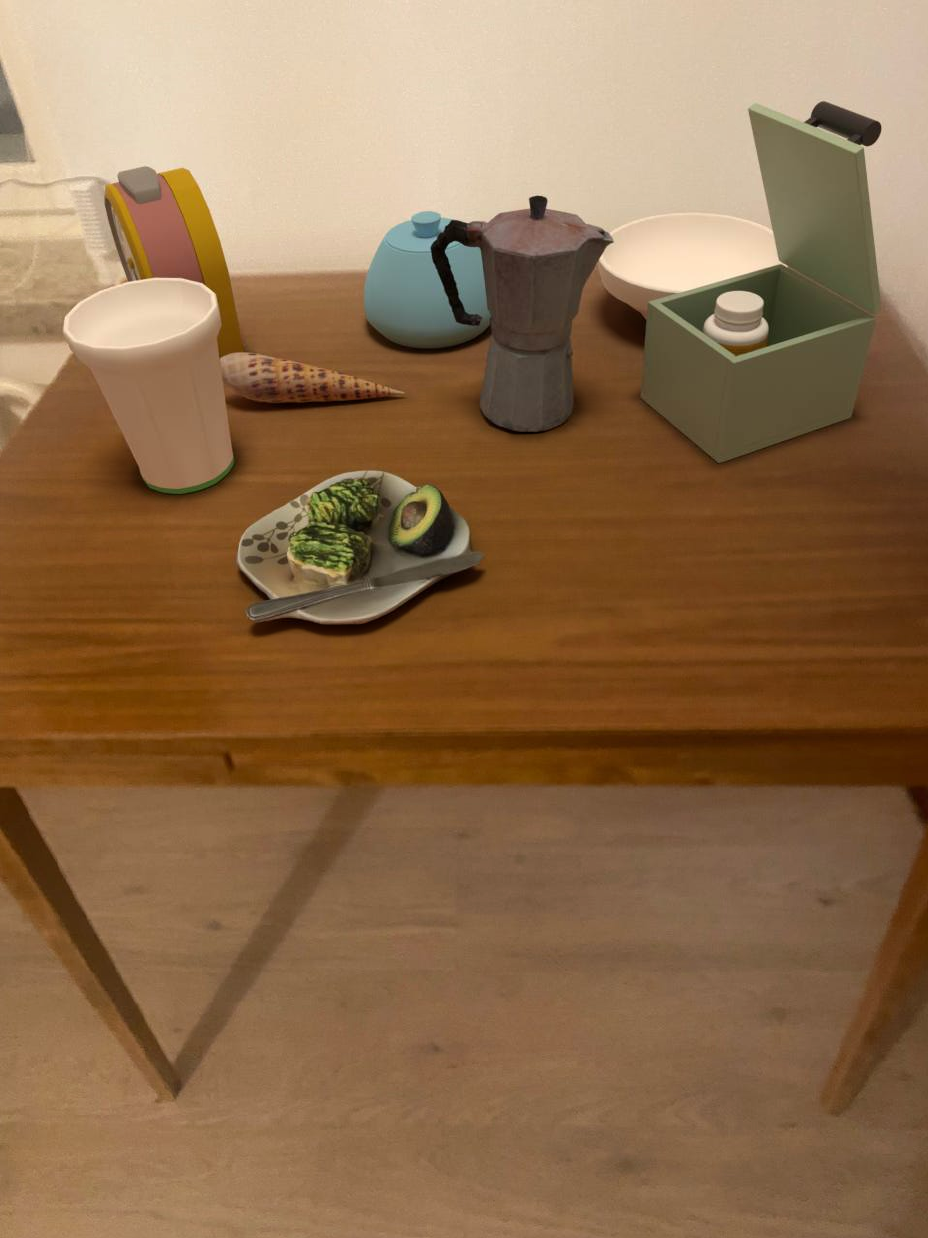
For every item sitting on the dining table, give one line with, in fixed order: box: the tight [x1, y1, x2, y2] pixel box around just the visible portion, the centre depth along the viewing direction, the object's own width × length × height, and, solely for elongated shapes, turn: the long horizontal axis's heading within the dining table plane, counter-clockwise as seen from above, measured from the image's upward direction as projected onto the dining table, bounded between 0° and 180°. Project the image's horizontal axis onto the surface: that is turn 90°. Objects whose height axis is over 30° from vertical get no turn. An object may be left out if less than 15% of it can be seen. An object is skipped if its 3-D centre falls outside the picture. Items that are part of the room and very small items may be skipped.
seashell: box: [220, 351, 407, 404], centre depth 94 cm, size 4×18×5 cm, turn 85°
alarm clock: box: [103, 165, 245, 358], centre depth 99 cm, size 15×8×18 cm, turn 27°
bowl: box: [597, 212, 790, 321], centre depth 102 cm, size 20×20×7 cm
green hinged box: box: [639, 264, 877, 464], centre depth 87 cm, size 15×13×10 cm
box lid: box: [747, 100, 883, 316], centre depth 80 cm, size 15×13×5 cm
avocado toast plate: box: [235, 469, 486, 625], centre depth 76 cm, size 19×18×5 cm
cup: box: [62, 278, 235, 495], centre depth 83 cm, size 12×12×15 cm
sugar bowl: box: [363, 210, 491, 350], centre depth 103 cm, size 15×15×12 cm
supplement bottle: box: [703, 291, 769, 356], centre depth 86 cm, size 6×6×10 cm
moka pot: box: [430, 195, 614, 433], centre depth 86 cm, size 10×15×20 cm, turn 89°
